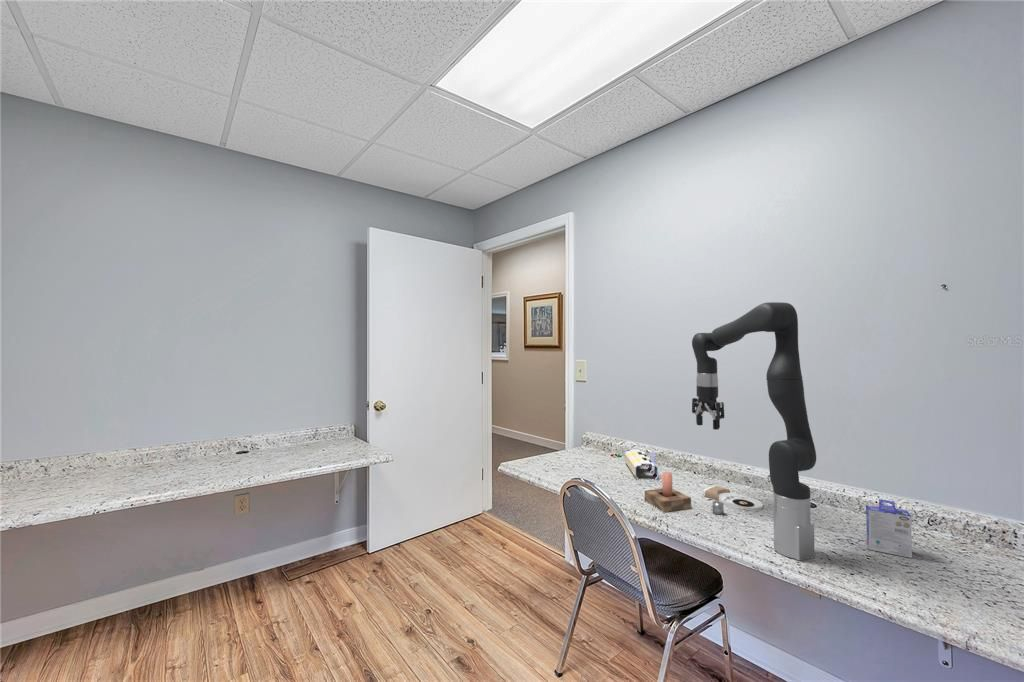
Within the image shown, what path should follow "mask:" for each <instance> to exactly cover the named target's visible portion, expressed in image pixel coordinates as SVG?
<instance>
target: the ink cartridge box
mask: <svg viewBox="0 0 1024 682" xmlns="http://www.w3.org/2000/svg"><path fill="white" fill-rule="evenodd" d="M884 503H885V504H884ZM886 503H887V505H886ZM888 504H890V505H888ZM865 514H866V515H865V516H866V518H865V520H866V546H867V549H868V550H870V551H876V552H880V553H885V554H888V555H889V554H890V555H895V556H900V557H906V558H910V559H912V558H913V547H912V546H913V544H912V543H913V541H912V540H913V539H912V532H913V530H912V527H913V526H912V524H913V523H912V515H911V514H910V513H909V511H908V510H905V509H899V508H896V503H895V501H894V500H893V501H892V500H887V499H880V498H879V499H878V506H877V505H869V504H865Z"/></svg>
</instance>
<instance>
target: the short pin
mask: <svg viewBox="0 0 1024 682" xmlns="http://www.w3.org/2000/svg"><path fill="white" fill-rule="evenodd" d="M724 505H725V504H723V503H722V502H719V501H717V500H713V501H712V514H713V515H714V514H715V515H714V516H717V515H723V516H725V513H724V512H725V511H724V510H725V509H724Z"/></svg>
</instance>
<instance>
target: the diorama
mask: <svg viewBox="0 0 1024 682" xmlns="http://www.w3.org/2000/svg"><path fill="white" fill-rule="evenodd" d="M651 451H652V453H651V454H652V455H651V456H652V457H651V458H650V457H649V456H648V455H647V454H646V452H644V451H643V450H642V451H641V450H640V448H639V449H637V448H635V449H634V448H633V449H630V450H626V451H625V452H624V462H625V463H626V465H627V467H628V468H629V470H630V471H631V472H632V473H633V475H634V476H635V479H636V480H639V477H638V476H637V468H638V467H641V466H642V465H644V466H645V467H647V465H648V466H649V467H648V468H647V469H646V470H648V471H649V472H650V473H649V472H648V471H647V472H648V473H649V474H651V472H652V471H654V472H653V474H652V476H653V477H654V478H653V477H652V478H653V479H654V480H655V481H656V480H657V479H658V478H659V466H657V464H656V455H655V452H654V451H655V450H654V449H652V450H651ZM644 466H643V467H644ZM653 467H654V468H653Z"/></svg>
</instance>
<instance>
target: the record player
mask: <svg viewBox="0 0 1024 682" xmlns="http://www.w3.org/2000/svg"><path fill="white" fill-rule="evenodd" d="M702 491H703V493H702V495H703V497H704V498H707V499H711V500H713V499H714V500H713V501H719V502H722V503H723V504H724V505H726V506H729V505H730V507H732V506H733V507H732V508H736V507H737V508H736V509H739V508H740V510H743V509H745V510H744V511H750V510H756V511H760V510H763V508H764V504H763V503H762V501H760V500H758V499H756V498H752V497H749V496H747V495H741V494H739V493H733V492H731V491H730V489H729V488H728V489H727V488H724V487H721V486H717V485H714V484H713V485H712V486H710V487H706V488H704V489H703V490H702Z"/></svg>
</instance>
